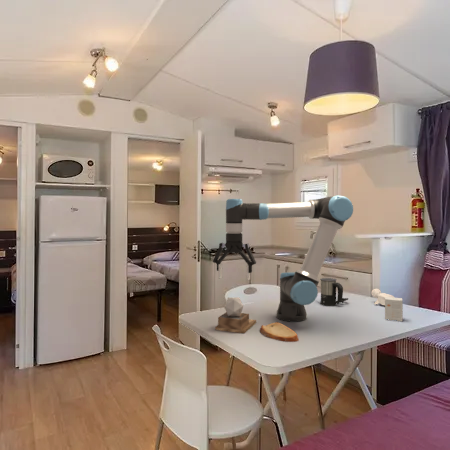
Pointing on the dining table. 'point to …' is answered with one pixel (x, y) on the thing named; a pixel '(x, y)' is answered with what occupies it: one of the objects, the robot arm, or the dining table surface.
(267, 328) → the slice of bread
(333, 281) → the milk frother
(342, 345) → the dining table surface
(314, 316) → the dining table surface
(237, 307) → the die
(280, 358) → the dining table surface
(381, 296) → the cream doll figurine
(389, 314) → the small box
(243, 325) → the wooden box on base
